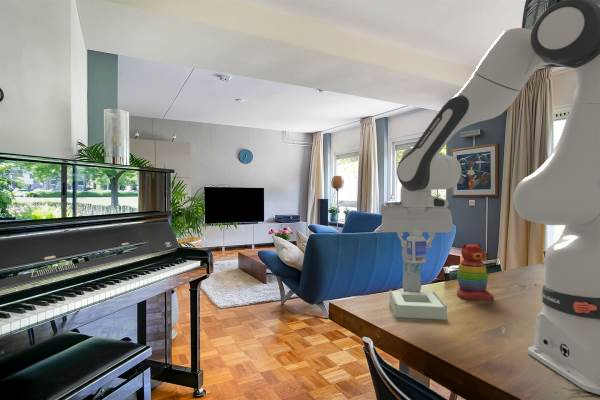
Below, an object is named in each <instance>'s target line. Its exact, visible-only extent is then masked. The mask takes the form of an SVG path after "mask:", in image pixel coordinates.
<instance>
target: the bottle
mask: <svg viewBox="0 0 600 400" xmlns="http://www.w3.org/2000/svg"><path fill="white" fill-rule="evenodd" d="M401 251H402V252H401V256H402V258H401V259H402V274H403V275H402V291H403V292H421V289H422V279H421V275H422V274H421V271H422V270H421V264H422V263H412V262H408V261H407V247H402V250H401Z"/></svg>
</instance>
